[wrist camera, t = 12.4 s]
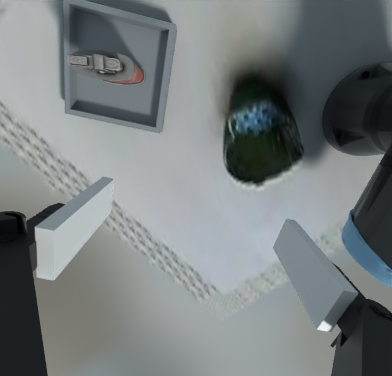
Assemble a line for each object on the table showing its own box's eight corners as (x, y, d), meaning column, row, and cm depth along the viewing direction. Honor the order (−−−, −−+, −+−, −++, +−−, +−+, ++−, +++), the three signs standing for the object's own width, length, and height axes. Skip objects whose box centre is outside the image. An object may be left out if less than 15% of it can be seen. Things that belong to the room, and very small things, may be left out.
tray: (177, 31, 32) (175, 24, 30) (162, 131, 38) (159, 133, 35) (74, 4, 31) (62, -6, 28) (74, 112, 37) (64, 113, 34)
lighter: (145, 64, 33) (128, 48, 24) (146, 87, 35) (129, 80, 25) (95, 59, 33) (57, 40, 24) (96, 82, 34) (61, 73, 25)
